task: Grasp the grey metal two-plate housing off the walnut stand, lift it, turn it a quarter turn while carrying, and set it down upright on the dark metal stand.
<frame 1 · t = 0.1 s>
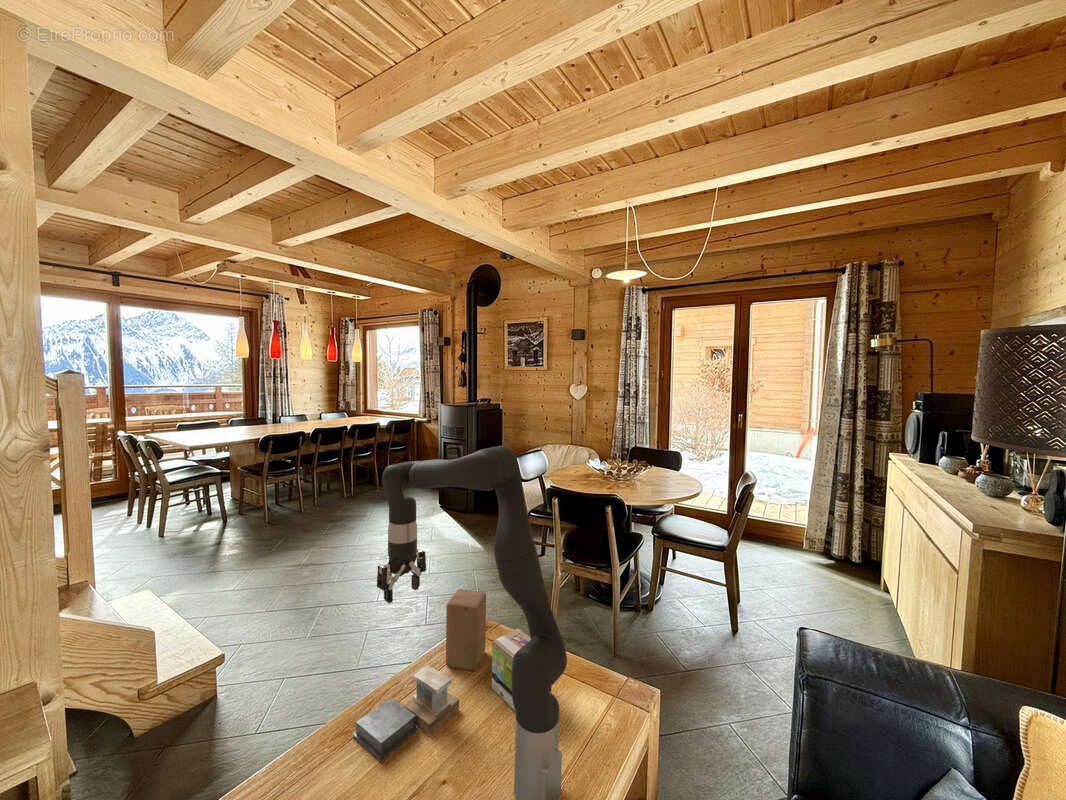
hand: (402, 595, 116), 29 cm above the table, fingers open, 8 cm apart
wooden block: (465, 659, 134), on the table
tea box: (520, 697, 119), on the table
stand B: (386, 734, 106), on the table
stand A: (431, 713, 113), on the table
housing: (431, 702, 112), point 3 cm above the table, touching stand A
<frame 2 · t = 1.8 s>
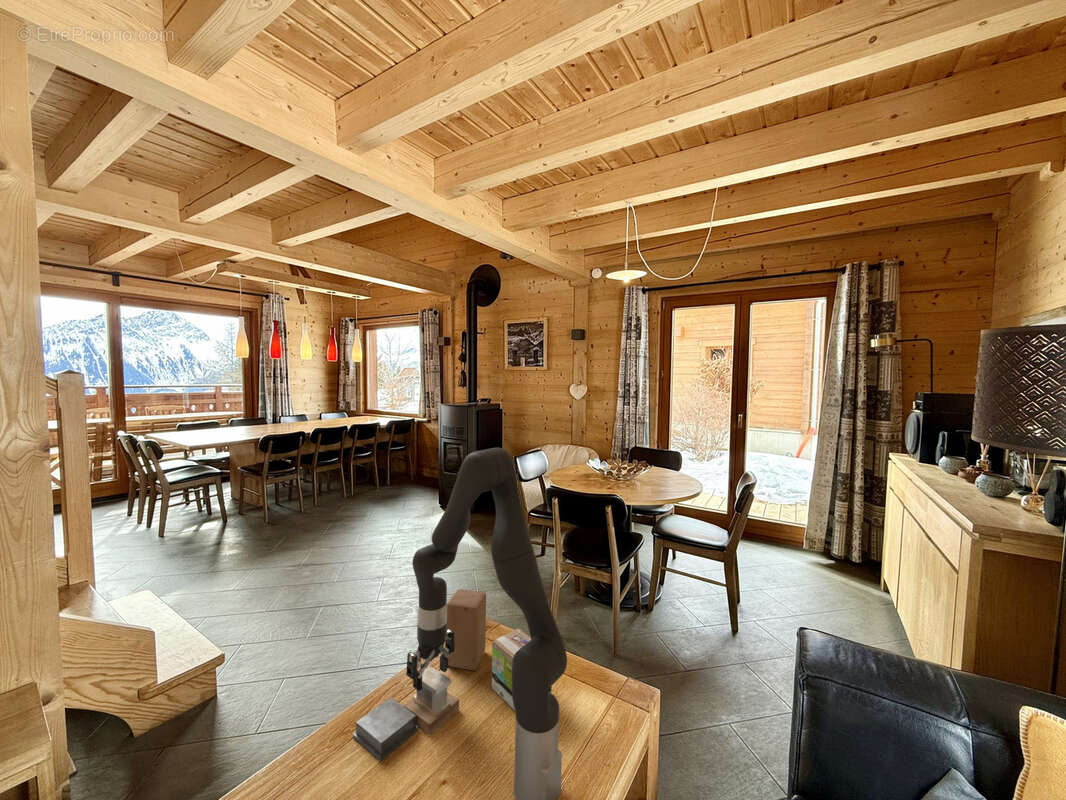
hand: (431, 679, 112), 9 cm above the table, fingers open, 8 cm apart
nothing on the table moved.
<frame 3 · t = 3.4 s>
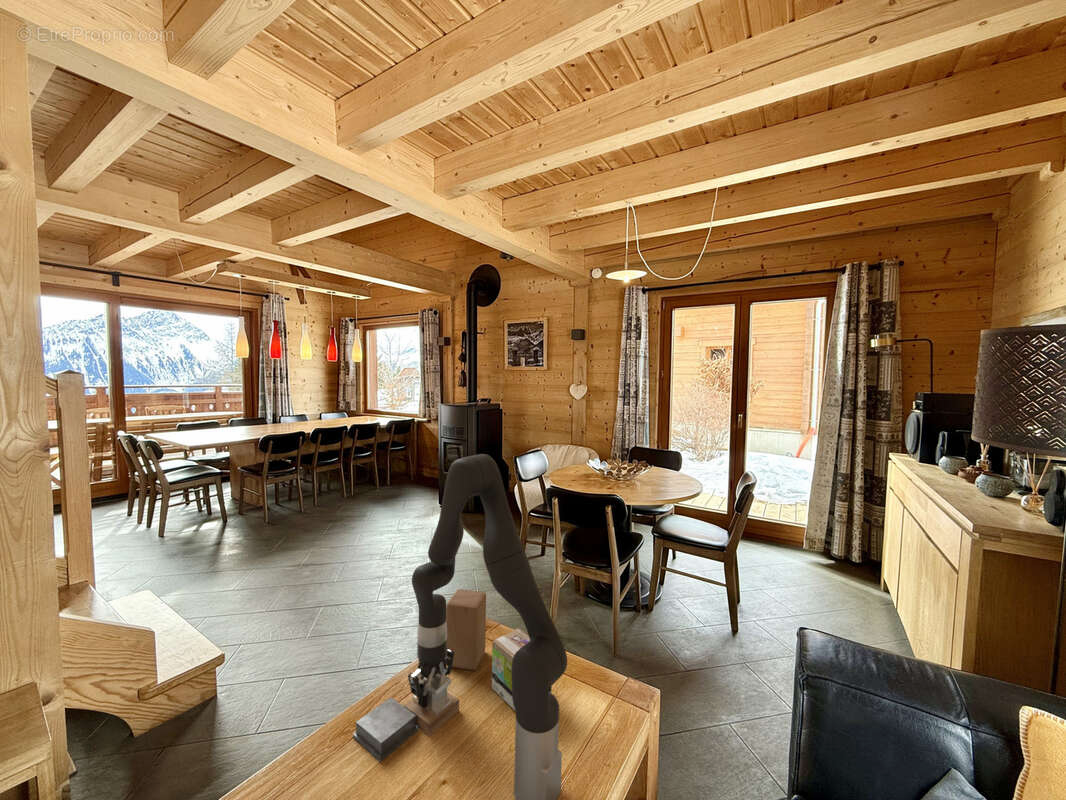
hand: (431, 699, 112), 4 cm above the table, fingers closed on housing, 5 cm apart
housing: (431, 702, 112), point 3 cm above the table, touching gripper, stand A
everything else where it was.
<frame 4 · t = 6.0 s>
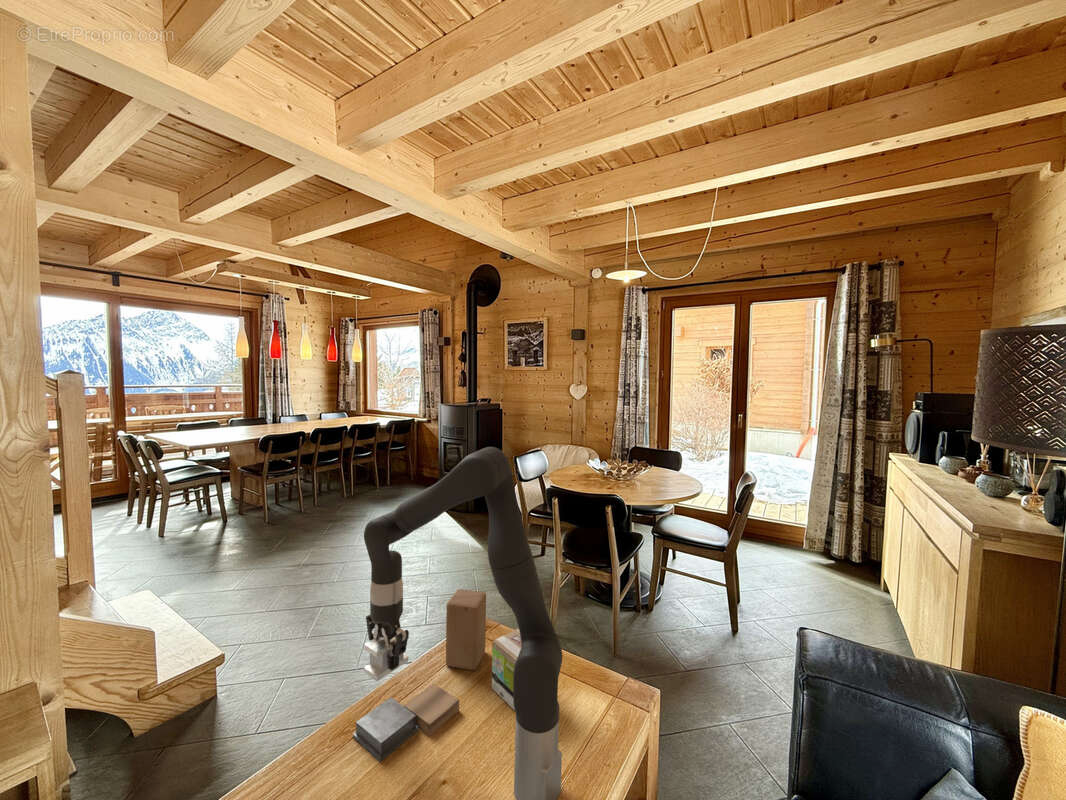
hand: (386, 663, 105), 18 cm above the table, fingers closed on housing, 5 cm apart
housing: (386, 666, 105), point 17 cm above the table, touching gripper
everything else where it was.
when the fingers open (6 cm above the table, at t = 9.0 s): housing stays where it is, resting on stand B.
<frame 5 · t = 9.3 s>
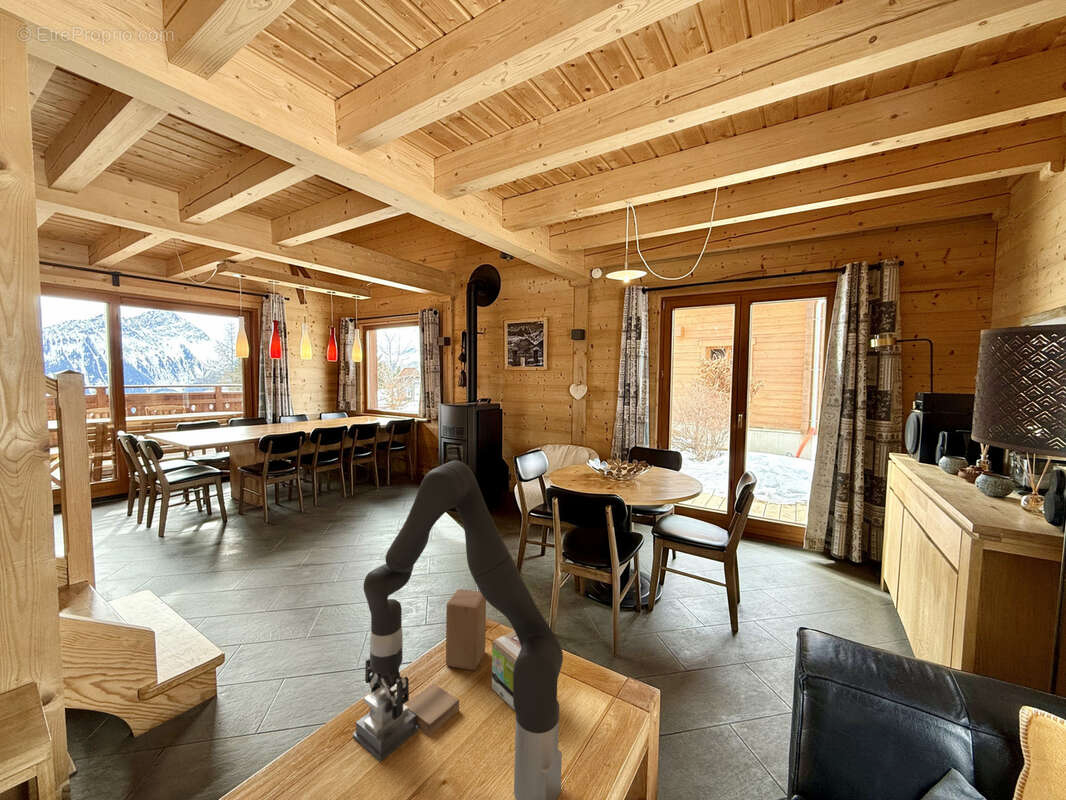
hand: (386, 708, 106), 7 cm above the table, fingers open, 8 cm apart
housing: (386, 718, 106), point 4 cm above the table, touching stand B
everything else where it was.
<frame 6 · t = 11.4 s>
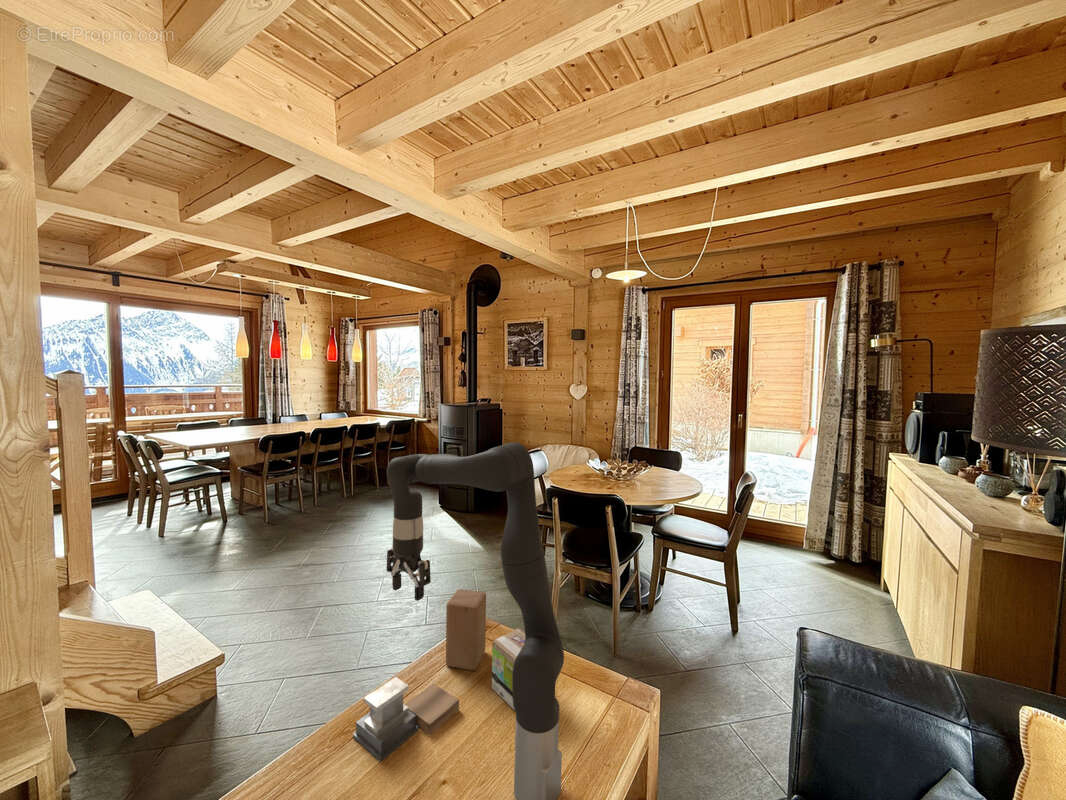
hand: (407, 594, 111), 32 cm above the table, fingers open, 8 cm apart
nothing on the table moved.
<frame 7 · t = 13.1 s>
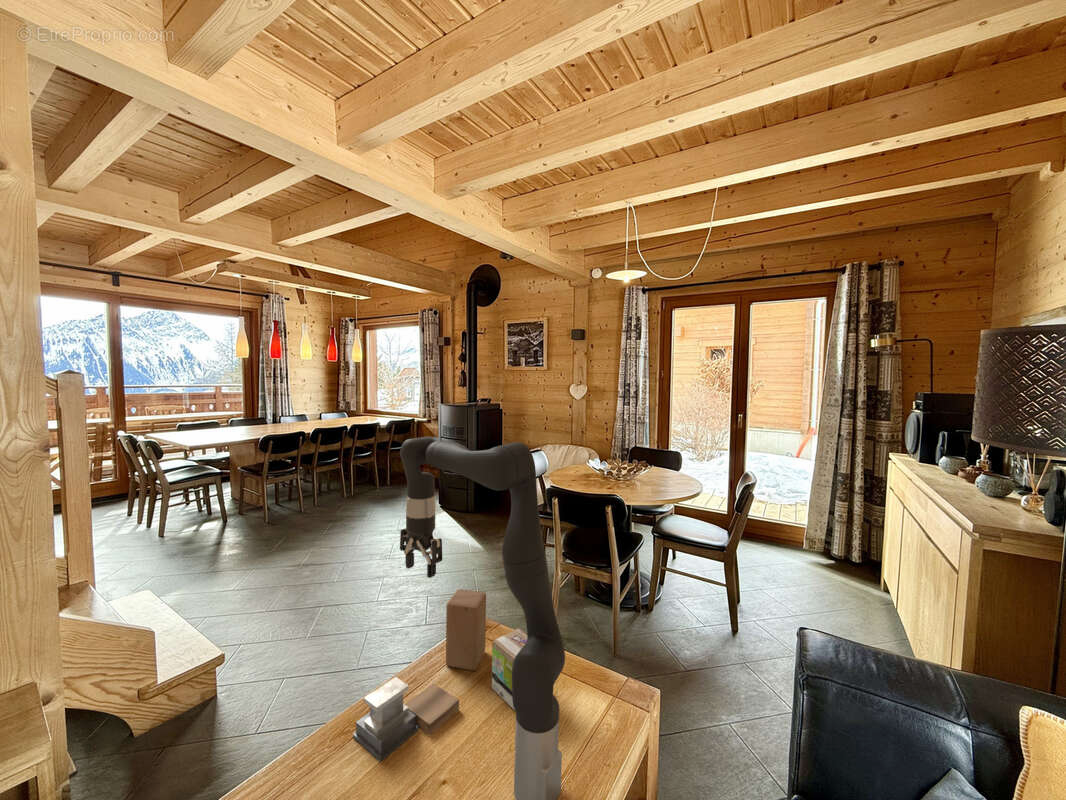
hand: (420, 571, 115), 36 cm above the table, fingers open, 8 cm apart
nothing on the table moved.
at the end: housing inside the target area on the stand B (0.1 cm from its centre), point 4.0 cm above the stand B's base; housing tilted 0°; the gripper is holding nothing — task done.
